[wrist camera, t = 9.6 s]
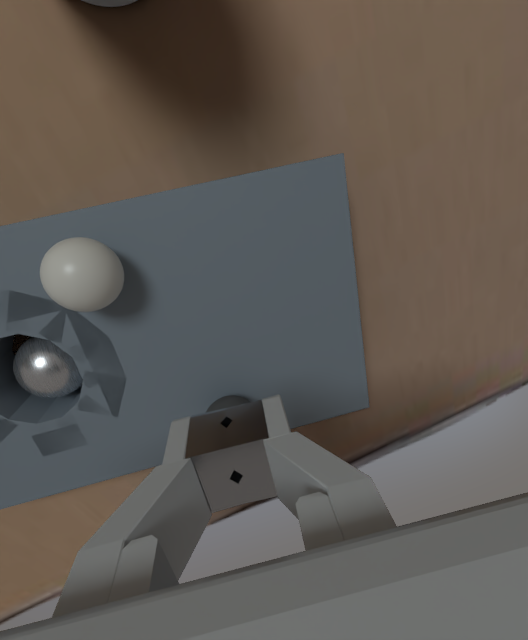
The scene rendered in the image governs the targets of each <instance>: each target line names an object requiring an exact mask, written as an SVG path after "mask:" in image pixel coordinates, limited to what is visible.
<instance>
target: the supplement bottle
mask: <svg viewBox="0 0 528 640" xmlns="http://www.w3.org/2000/svg"><path fill="white" fill-rule="evenodd" d="M82 1H84V2H87V3H90V4H93V5H98V6H104V7H119V6H124V5H128V4H131V3H133V2H135V1H138V0H82Z"/></svg>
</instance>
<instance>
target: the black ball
mask: <svg viewBox="0 0 528 640" xmlns="http://www.w3.org/2000/svg"><path fill="white" fill-rule="evenodd" d="M249 402H250V401H249V400H247V399H246V398H243V397H241V396H236V395H229V396H224V397H221V398H219V399H217V400H216V401H215V402H213V403H212V404H211V405H210V406H209V408H208V409H207V411H206V412H210V411H215V410H219V409H224V408H230V407H234V406H238V405H242V404H246V403H249Z"/></svg>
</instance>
